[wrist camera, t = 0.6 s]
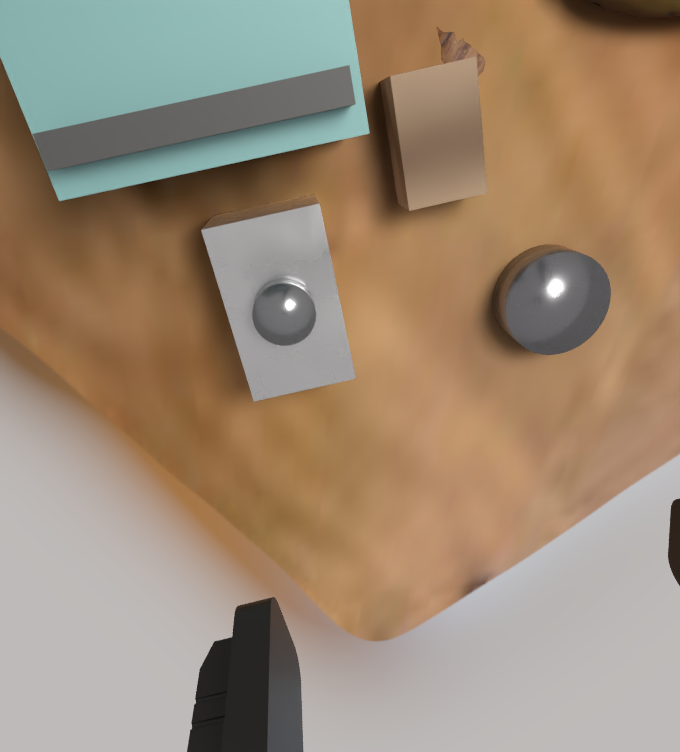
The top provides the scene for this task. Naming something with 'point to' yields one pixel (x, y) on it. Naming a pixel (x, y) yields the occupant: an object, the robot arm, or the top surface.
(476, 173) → the wood offcut
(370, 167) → the top surface
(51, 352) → the top surface
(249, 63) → the stand
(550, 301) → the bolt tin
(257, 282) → the block
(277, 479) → the top surface
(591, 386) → the top surface
